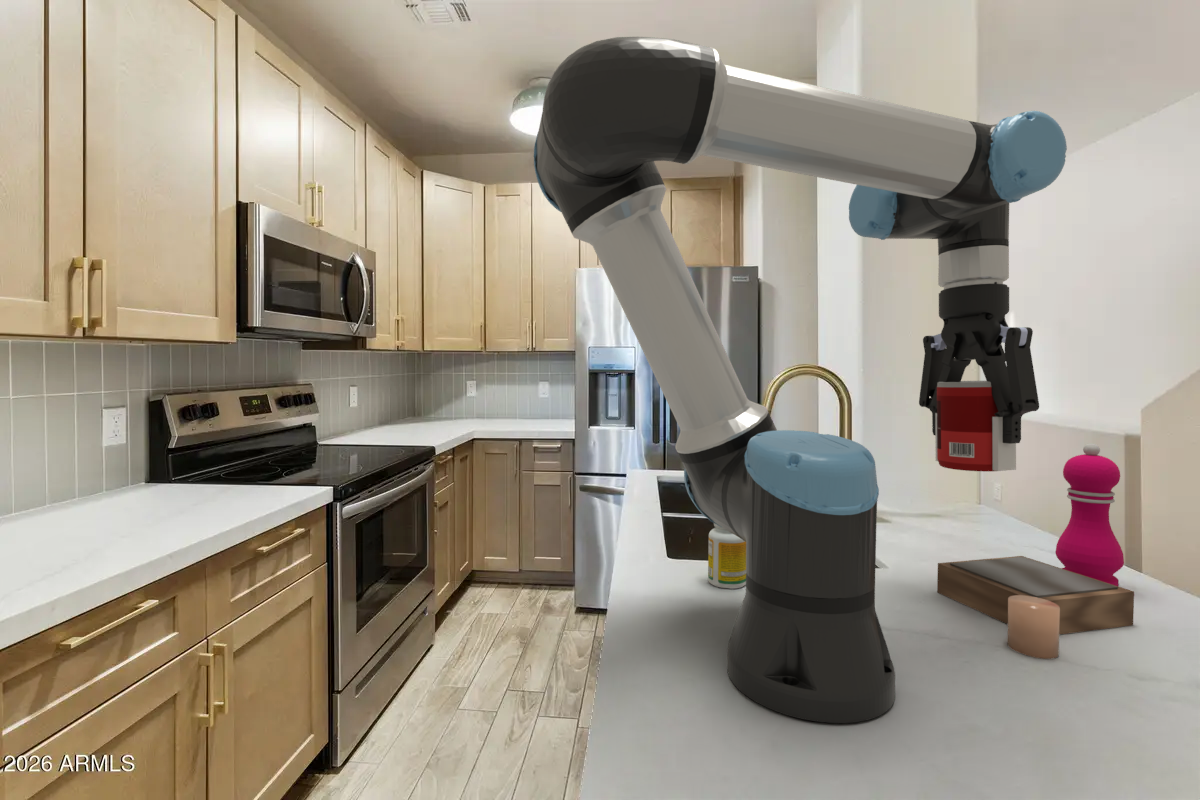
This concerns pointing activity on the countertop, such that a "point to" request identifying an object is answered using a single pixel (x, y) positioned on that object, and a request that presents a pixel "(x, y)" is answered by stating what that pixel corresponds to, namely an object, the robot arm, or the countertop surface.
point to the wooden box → (1036, 591)
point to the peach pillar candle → (1033, 626)
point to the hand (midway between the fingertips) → (973, 464)
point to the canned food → (965, 425)
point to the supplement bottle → (726, 559)
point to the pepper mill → (1090, 518)
